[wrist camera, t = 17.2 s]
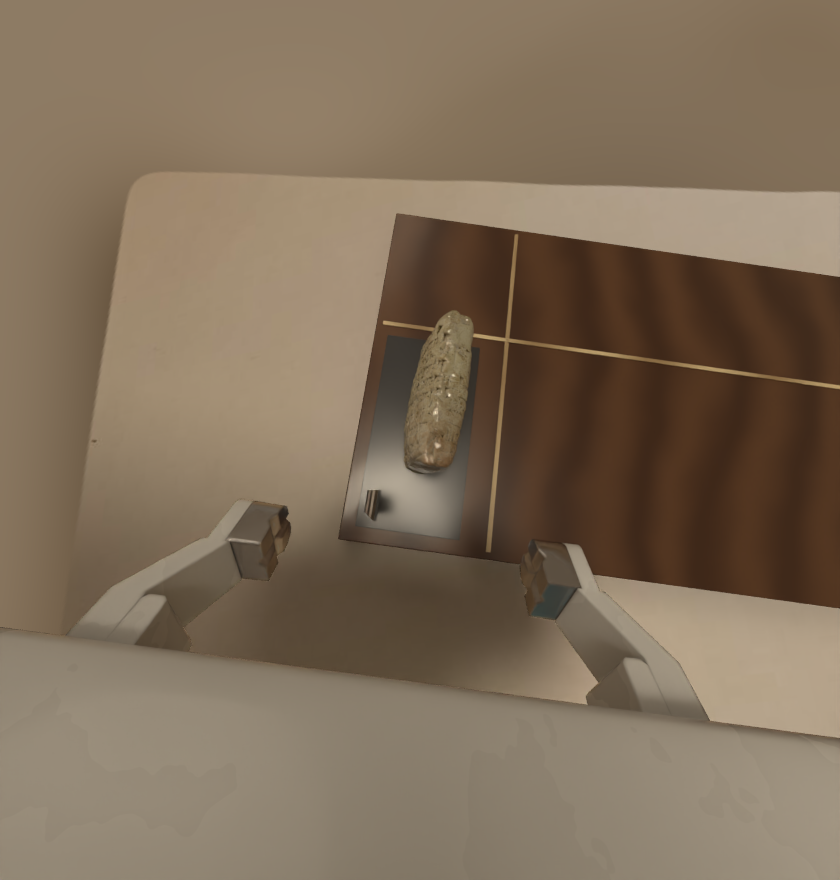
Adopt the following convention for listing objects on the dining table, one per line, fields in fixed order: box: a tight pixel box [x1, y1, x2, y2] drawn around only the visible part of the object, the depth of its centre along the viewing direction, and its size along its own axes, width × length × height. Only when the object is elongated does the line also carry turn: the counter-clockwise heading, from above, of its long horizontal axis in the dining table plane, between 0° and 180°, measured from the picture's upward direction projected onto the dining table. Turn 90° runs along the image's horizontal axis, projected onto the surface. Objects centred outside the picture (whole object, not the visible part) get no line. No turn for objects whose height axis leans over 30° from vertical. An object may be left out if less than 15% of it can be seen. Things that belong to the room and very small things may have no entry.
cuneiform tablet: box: [364, 310, 474, 522], centre depth 20 cm, size 7×4×12 cm
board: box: [338, 213, 840, 608], centre depth 25 cm, size 42×26×2 cm, turn 82°
